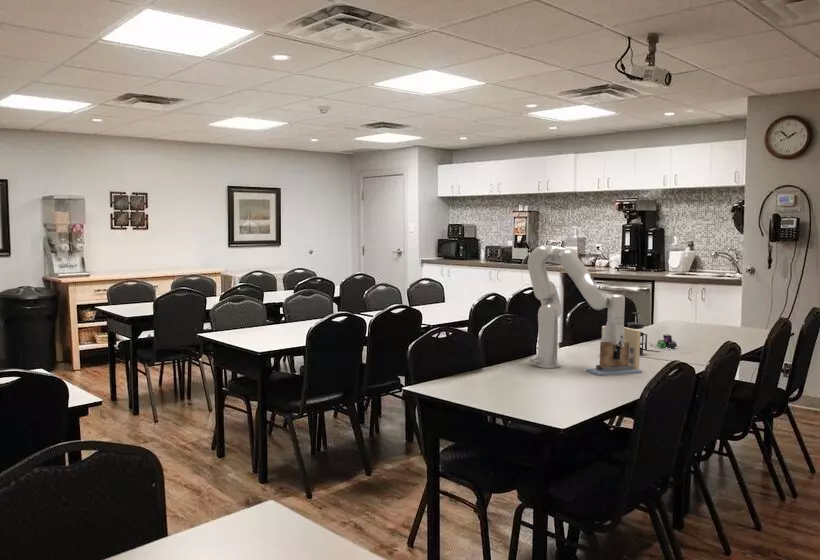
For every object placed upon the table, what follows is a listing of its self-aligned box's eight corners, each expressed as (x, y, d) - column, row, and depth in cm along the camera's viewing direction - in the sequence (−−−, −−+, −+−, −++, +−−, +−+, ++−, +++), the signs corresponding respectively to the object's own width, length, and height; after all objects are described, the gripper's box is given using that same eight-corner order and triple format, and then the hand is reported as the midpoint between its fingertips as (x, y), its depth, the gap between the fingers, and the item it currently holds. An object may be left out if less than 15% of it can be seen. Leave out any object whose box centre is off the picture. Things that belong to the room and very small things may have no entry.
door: (603, 368, 310) (604, 343, 309) (599, 366, 313) (600, 342, 312) (629, 366, 315) (630, 342, 314) (625, 365, 317) (626, 340, 316)
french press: (621, 354, 360) (623, 312, 358) (628, 351, 367) (629, 310, 365) (642, 356, 352) (644, 314, 351) (649, 354, 360) (650, 312, 358)
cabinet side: (598, 375, 305) (599, 333, 304) (574, 367, 324) (576, 327, 323) (641, 373, 313) (643, 331, 311) (616, 364, 332) (617, 325, 330)
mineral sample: (692, 356, 358) (693, 339, 357) (626, 348, 376) (627, 332, 376) (701, 350, 387) (702, 335, 387) (639, 343, 405) (640, 329, 405)
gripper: (598, 318, 318) (597, 355, 320) (619, 323, 303) (617, 362, 304) (612, 317, 321) (610, 354, 322) (633, 322, 305) (631, 361, 307)
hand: (614, 358), depth 313 cm, fingers closed on door, 3 cm apart
